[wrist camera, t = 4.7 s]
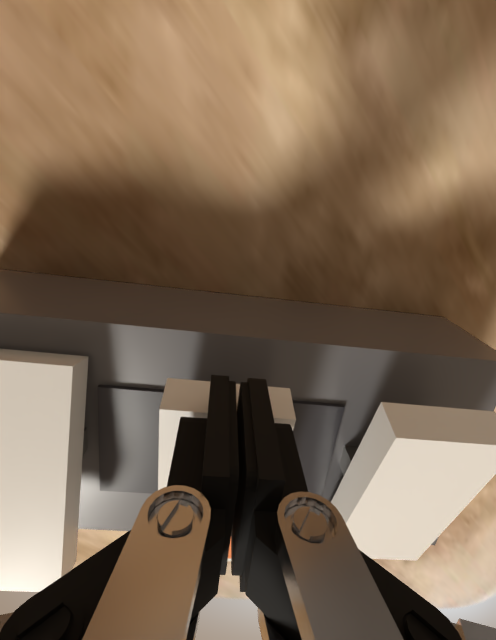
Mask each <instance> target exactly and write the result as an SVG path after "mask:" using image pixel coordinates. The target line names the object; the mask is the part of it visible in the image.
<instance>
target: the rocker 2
mask: <svg viewBox="0 0 496 640" xmlns="http://www.w3.org/2000/svg"><path fill="white" fill-rule="evenodd" d="M495 474H496V413H495V412H494V411H483V410H471V409H459V408H447V407H435V406H423V405H411V404H399V403H387V402H381V403H380V405H379V407H378V409H377V411H376V413H375V415H374V417H373V419H372V421H371V423H370V425H369V427H368V429H367V431H366V433H365V435H364V437H363V439H362V441H361V443H360V445H359V447H358V449H357V451H356V453H355V455H354V457H353V459H352V461H351V463H350V465H349V467H348V469H347V471H346V473H345V475H344V477H343V479H342V481H341V483H340V485H339V487H338V489H337V491H336V493H335V495H334V497H333V499H332V501H331V503H332V504H333V505H334V506H335V507H336V508H337V510H338V511H339V512H340V514H341V515H342V517H343V519H344V521H345V523H346V525H347V527H348V529H349V531H350V533H351V535H352V537H353V539H354V541H355V543H356V545H357V547H358V549H359V550H360V551H362V552H363V553H364V554H366V555H367V556H368V557H370V558H371V559H393V560H417V559H418V558H419V557H420V556H421V555H422V554H423V553H424V552H425V551H426V549H427V548H428V547H429V546H430V545H431V544H432V543H433V542H434V541H435V540H436V539H437V537H438V536H439V535H440V534H441V533H442V532H443V531H444V530H445V529H446V528H447V527H448V525H449V524H450V523H451V522H452V521H453V520H454V519H455V518H456V517H457V516H458V515H459V513H460V512H461V511H462V510H463V509H464V508H465V507H466V506H467V505H468V504H469V503H470V501H471V500H472V499H473V498H474V497H475V496H476V495H477V494H478V493H479V492H480V491H481V489H482V488H483V487H484V486H485V485H486V484H487V483H488V482H489V481H490V480H491V479H492V477H493V476H494V475H495Z"/></svg>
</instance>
